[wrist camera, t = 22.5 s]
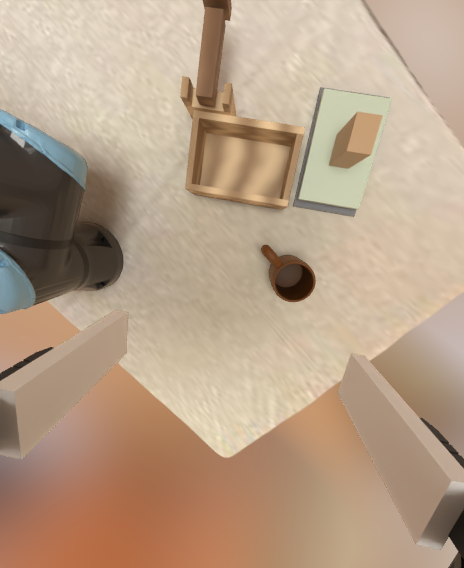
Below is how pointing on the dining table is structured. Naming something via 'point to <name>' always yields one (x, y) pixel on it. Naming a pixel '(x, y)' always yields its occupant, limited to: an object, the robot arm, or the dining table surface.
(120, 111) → the dining table surface
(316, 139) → the lid
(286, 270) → the mug
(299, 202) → the mat
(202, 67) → the bar
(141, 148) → the dining table surface
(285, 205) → the toolbox
